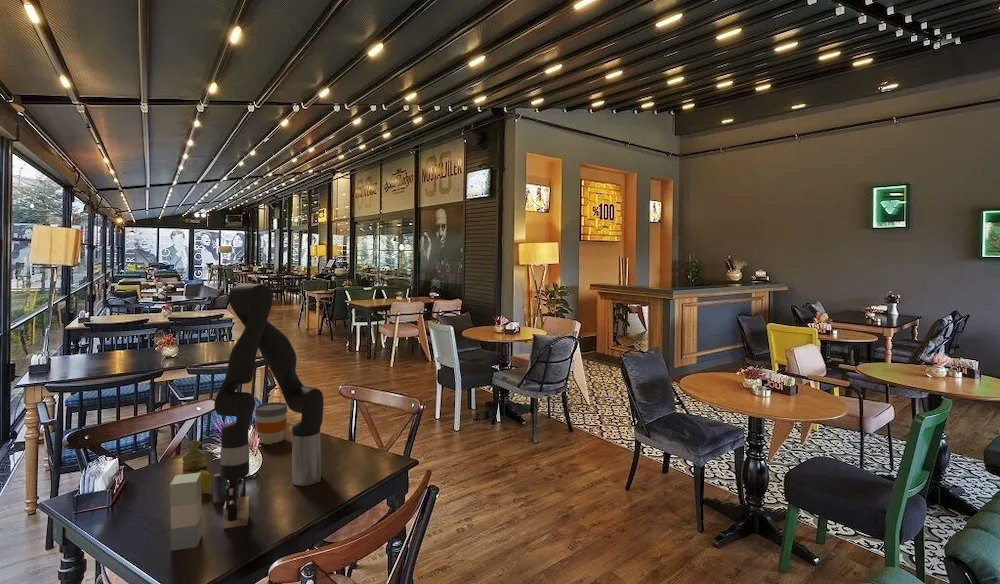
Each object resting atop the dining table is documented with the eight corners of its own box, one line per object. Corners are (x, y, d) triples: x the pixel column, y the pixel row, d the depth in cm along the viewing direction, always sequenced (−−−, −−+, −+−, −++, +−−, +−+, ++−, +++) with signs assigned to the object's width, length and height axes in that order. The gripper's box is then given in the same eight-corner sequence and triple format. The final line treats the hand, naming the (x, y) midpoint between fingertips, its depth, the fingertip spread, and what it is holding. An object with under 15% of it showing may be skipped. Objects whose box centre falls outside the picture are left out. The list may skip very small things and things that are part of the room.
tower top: (201, 493, 138) (201, 472, 138) (196, 503, 133) (196, 481, 132) (176, 496, 136) (175, 475, 136) (170, 506, 131) (170, 484, 130)
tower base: (201, 535, 139) (201, 514, 139) (197, 546, 133) (197, 525, 133) (176, 539, 137) (176, 517, 137) (171, 551, 131) (170, 528, 131)
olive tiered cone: (209, 466, 185) (209, 439, 185) (188, 473, 179) (188, 445, 178) (199, 461, 189) (199, 435, 189) (178, 468, 183) (178, 441, 182)
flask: (213, 504, 156) (212, 471, 156) (213, 500, 159) (212, 467, 158) (246, 498, 161) (245, 465, 161) (245, 494, 164) (245, 462, 163)
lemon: (202, 498, 160) (202, 474, 160) (188, 496, 161) (187, 472, 161) (215, 491, 165) (215, 467, 165) (201, 489, 167) (201, 465, 166)
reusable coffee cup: (289, 443, 210) (289, 408, 209) (256, 448, 204) (256, 412, 203) (285, 434, 221) (285, 400, 220) (254, 438, 215) (254, 404, 214)
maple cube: (249, 515, 150) (249, 496, 150) (246, 525, 145) (246, 505, 144) (226, 518, 148) (226, 499, 148) (223, 528, 143) (223, 508, 142)
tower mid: (201, 514, 139) (201, 493, 138) (197, 525, 133) (196, 503, 133) (176, 517, 137) (176, 496, 136) (170, 529, 131) (170, 506, 131)
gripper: (245, 467, 140) (245, 523, 141) (252, 449, 153) (251, 501, 154) (215, 470, 137) (215, 527, 138) (224, 452, 151) (224, 504, 151)
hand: (234, 513), depth 146 cm, fingers open, 8 cm apart
